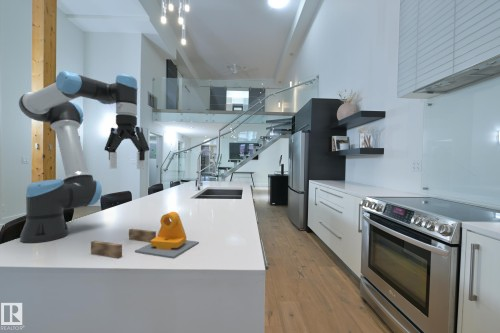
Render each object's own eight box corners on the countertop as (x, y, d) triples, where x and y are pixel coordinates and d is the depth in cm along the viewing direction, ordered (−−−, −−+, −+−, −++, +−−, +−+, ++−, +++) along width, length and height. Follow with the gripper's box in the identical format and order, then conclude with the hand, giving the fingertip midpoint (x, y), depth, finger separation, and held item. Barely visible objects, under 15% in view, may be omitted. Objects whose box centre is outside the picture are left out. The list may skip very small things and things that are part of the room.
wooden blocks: (90, 253, 83) (90, 241, 83) (131, 238, 100) (131, 228, 100) (118, 258, 79) (118, 246, 79) (155, 241, 96) (155, 231, 96)
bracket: (149, 248, 87) (149, 214, 86) (160, 241, 94) (160, 211, 94) (177, 250, 85) (177, 216, 85) (186, 243, 92) (186, 212, 92)
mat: (134, 252, 84) (134, 250, 84) (164, 238, 99) (164, 237, 99) (173, 258, 79) (173, 256, 79) (198, 243, 94) (198, 241, 94)
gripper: (94, 115, 97) (94, 168, 97) (145, 111, 89) (144, 169, 89) (110, 118, 104) (110, 168, 104) (159, 115, 96) (158, 169, 96)
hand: (126, 168), depth 97 cm, fingers open, 13 cm apart
